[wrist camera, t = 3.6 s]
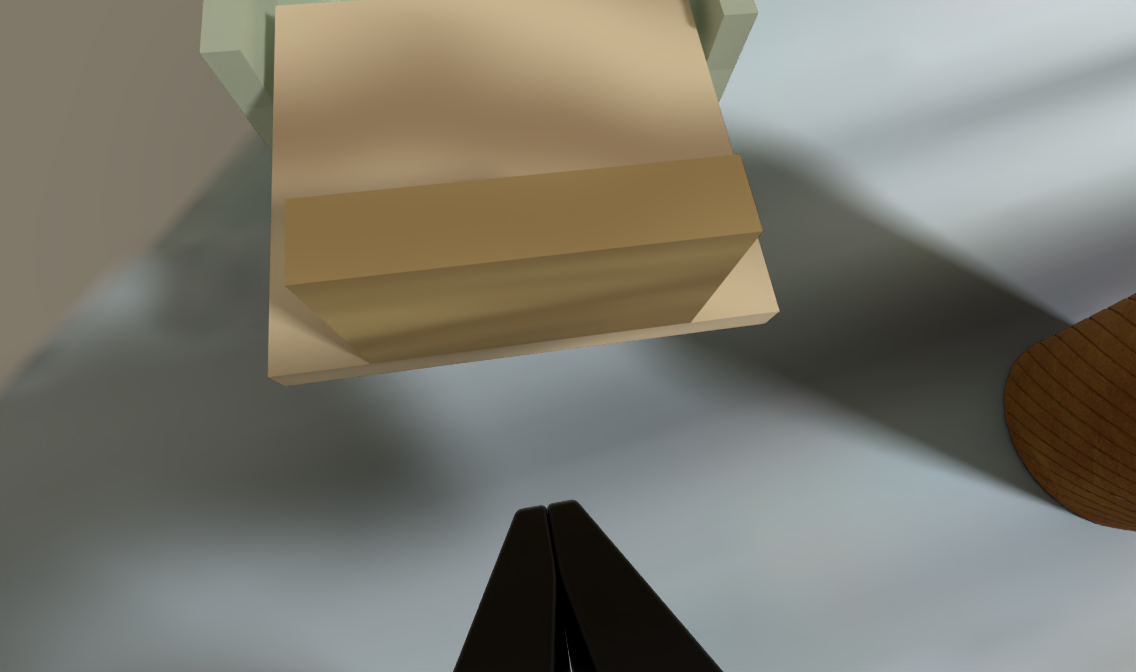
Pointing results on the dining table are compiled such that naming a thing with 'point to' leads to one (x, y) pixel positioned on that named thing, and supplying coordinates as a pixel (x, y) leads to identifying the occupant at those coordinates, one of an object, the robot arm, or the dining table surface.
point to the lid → (498, 185)
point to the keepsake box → (247, 3)
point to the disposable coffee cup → (1081, 415)
